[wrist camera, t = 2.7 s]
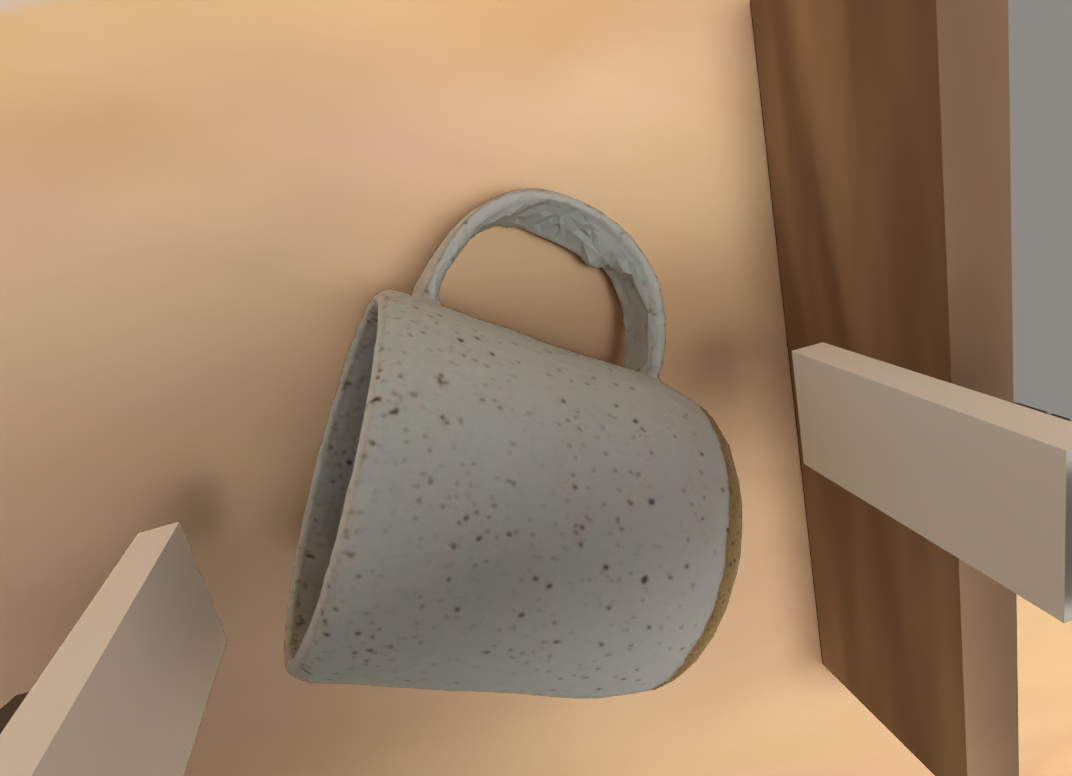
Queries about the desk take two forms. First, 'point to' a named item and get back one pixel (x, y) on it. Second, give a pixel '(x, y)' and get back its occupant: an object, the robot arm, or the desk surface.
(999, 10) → the walnut screen
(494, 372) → the ceramic mug
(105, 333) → the desk surface
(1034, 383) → the mat
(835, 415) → the robot arm
